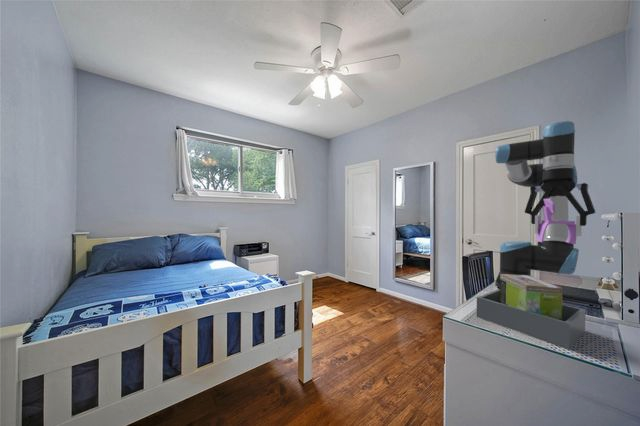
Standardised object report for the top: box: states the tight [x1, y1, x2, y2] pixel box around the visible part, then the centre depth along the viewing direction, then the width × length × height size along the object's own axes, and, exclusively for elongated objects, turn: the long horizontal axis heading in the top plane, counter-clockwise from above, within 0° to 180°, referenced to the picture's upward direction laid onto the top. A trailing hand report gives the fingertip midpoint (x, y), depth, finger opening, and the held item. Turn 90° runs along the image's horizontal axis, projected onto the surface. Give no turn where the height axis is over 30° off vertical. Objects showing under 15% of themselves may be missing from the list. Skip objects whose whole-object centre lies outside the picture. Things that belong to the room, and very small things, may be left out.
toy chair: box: [535, 199, 577, 245], centre depth 80 cm, size 8×9×15 cm
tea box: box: [500, 274, 563, 320], centre depth 78 cm, size 15×10×15 cm
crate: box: [476, 288, 586, 350], centre depth 78 cm, size 18×23×7 cm
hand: (556, 234), depth 80 cm, fingers closed on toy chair, 9 cm apart
